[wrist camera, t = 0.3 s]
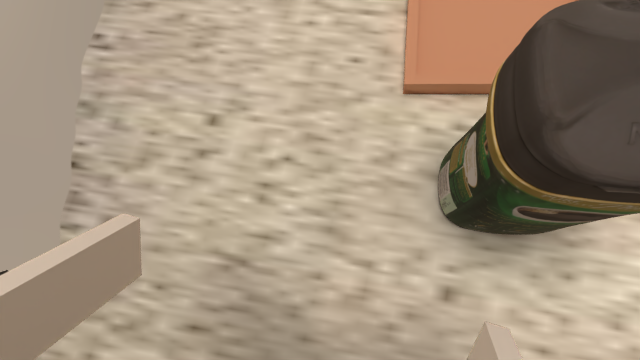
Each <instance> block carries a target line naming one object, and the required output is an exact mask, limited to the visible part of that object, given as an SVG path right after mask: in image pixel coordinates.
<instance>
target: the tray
mask: <svg viewBox="0 0 640 360" xmlns="http://www.w3.org/2000/svg"><path fill="white" fill-rule="evenodd" d="M574 1H578V0H408V7H407V27H406V47H405V67H404V87H403V94H489V93H490V89H491V85H492V82H493V80H494V78H495V75H496V73H497V71H498V69H499V68H500V66H501V65H502V63H503V62H504V61H505V60H506V59H507V58H508V57H509V55H510V54H511V53H512V52H513V51H514V49H515V48H516V47H517V46H518V45H519V44H520V42H521V40H522V39H523V37H524V36H525V34H526V33H527V32H528V31H529V29H531V28H532V26H533V25H534V24H535V23H536V22H537V21H538V20H539V19H540V18H541V17H542V16H543V15H545V14H546V13H548V12H549V11H551V10H553V9H554V8H556V7H559V6H561V5H564V4H567V3H570V2H574Z"/></svg>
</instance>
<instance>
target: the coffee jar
mask: <svg viewBox="0 0 640 360" xmlns="http://www.w3.org/2000/svg"><path fill="white" fill-rule="evenodd" d="M438 189H439V199H440V204H441V207H442V210H443V212H444V213H445V215H446V216H447V218H448V219H450V220H451V221H452V222H453V223H455V224H457V225H459V226H461V227H463V228H467V229H472V230H477V231H483V232H490V233H500V234H538V233H544V232H548V231H553V230H557V229H561V228H565V227H569V226H573V225H578V224H583V223H588V222H593V221H597V220H602V219H607V218H612V217H618V216H624V215H630V214H637V213H640V0H578V1H574V2H570V3H567V4H564V5H561V6H559V7H556V8H554V9H553V10H551V11H549V12H548V13H546V14H545V15H543V16H542V17H541V18H540V19H539V20H538V21H537V22H536V23H535V24H534V25H533V26H532V28H531V29H529V31H528V32H527V33H526V34H525V36H524V37H523V39H522V40H521V42H520V44H519V45H518V46H517V47H516V48H515V49H514V51H513V52H512V53H511V54H510V55H509V57H508V58H507V59H506V60H505V61H504V62H503V63H502V65H501V66H500V68H499V69H498V71H497V73H496V75H495V78H494V80H493V82H492V85H491V89H490V93H489V97H488V102H487V110H486V113H485V114H484V115H483V116H482V117H481V119H480V120H479V121H478V122H477V123H476V124H475V125H474V126H473V127H472V128H471V129H470V130H469V131H468V132H467V133H466V134H465V135H464V136H463V137H462V138H461V139H460V140H459V141H458V142H457V143H456V144H455V145H454V146H453V147H452V148H451V149H450V151H449V152H448V153H447V155H446V156H445V158H444V159H443V161H442V164H441V168H440V173H439V183H438Z"/></svg>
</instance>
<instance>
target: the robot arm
mask: <svg viewBox="0 0 640 360" xmlns="http://www.w3.org/2000/svg"><path fill="white" fill-rule="evenodd" d="M141 275H142V271H141V241H140V218H137V217H134V216H130V215H127V214H124V213H123V214H121V215H119V216H117V217H115V218H113V219H111V220H109V221H107V222H105V223H103V224H101V225H99V226H97V227H95V228H93V229H91V230H89V231H87V232H85V233H83V234H81V235H79V236H77V237H75V238H73V239H71V240H69V241H67V242H65V243H63V244H61V245H60V246H58V247H56V248H54V249H52V250H50V251H48V252H46V253H44V254H42V255H40V256H38V257H36V258H34V259H32V260H30V261H28V262H26V263H24V264H22V265H20V266H18V267H16V268H14V269H12V270H10V271H8V270H6V271H3V272H0V360H34V359H35V358H36V357H38V356H39V355H40V354H42V353H43V352H44V351H45V350H47V349H48V348H49V347H50V346H52V345H53V344H54V343H56V342H57V341H58V340H59V339H61V338H62V337H63V336H64V335H66V334H67V333H68V332H70V331H71V330H72V329H73V328H75V327H76V326H77V325H78V324H80V323H81V322H82V321H84V320H85V319H86V318H87V317H89V316H90V315H91V314H92V313H94V312H95V311H96V310H98V309H99V308H100V307H101V306H103V305H104V304H105V303H106V302H108V301H109V300H110V299H112V298H113V297H114V296H115V295H117V294H118V293H119V292H121V291H122V290H123V289H124V288H126V287H127V286H128V285H129V284H131V283H132V282H133V281H135V280H136V279H137V278H138V277H140V276H141ZM467 360H523V359H522V356H521V354H520V352H519V350H518V347H517V345H516V343H515V341H514V338H513V336H512V334H511V332H510V329H508V328H505V327H501V326H498V325H495V324H491V323H488V322H485V323H484V325H483V327H482V329H481V331H480V333H479V335H478V337H477V339H476V341H475V344H474V346H473V348H472V350H471V352H470V354H469V356H468V358H467Z"/></svg>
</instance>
